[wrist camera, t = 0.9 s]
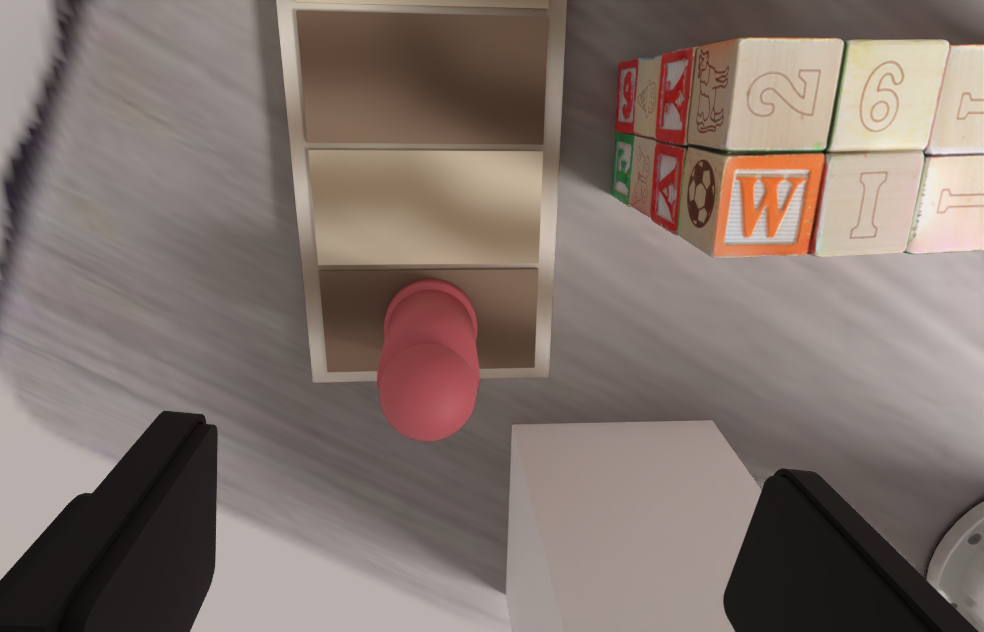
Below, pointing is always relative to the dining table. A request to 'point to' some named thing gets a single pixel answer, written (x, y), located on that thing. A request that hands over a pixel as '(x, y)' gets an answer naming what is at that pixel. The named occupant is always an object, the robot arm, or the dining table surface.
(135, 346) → the dining table surface
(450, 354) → the pawn
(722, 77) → the stack of blocks
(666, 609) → the milk
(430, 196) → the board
